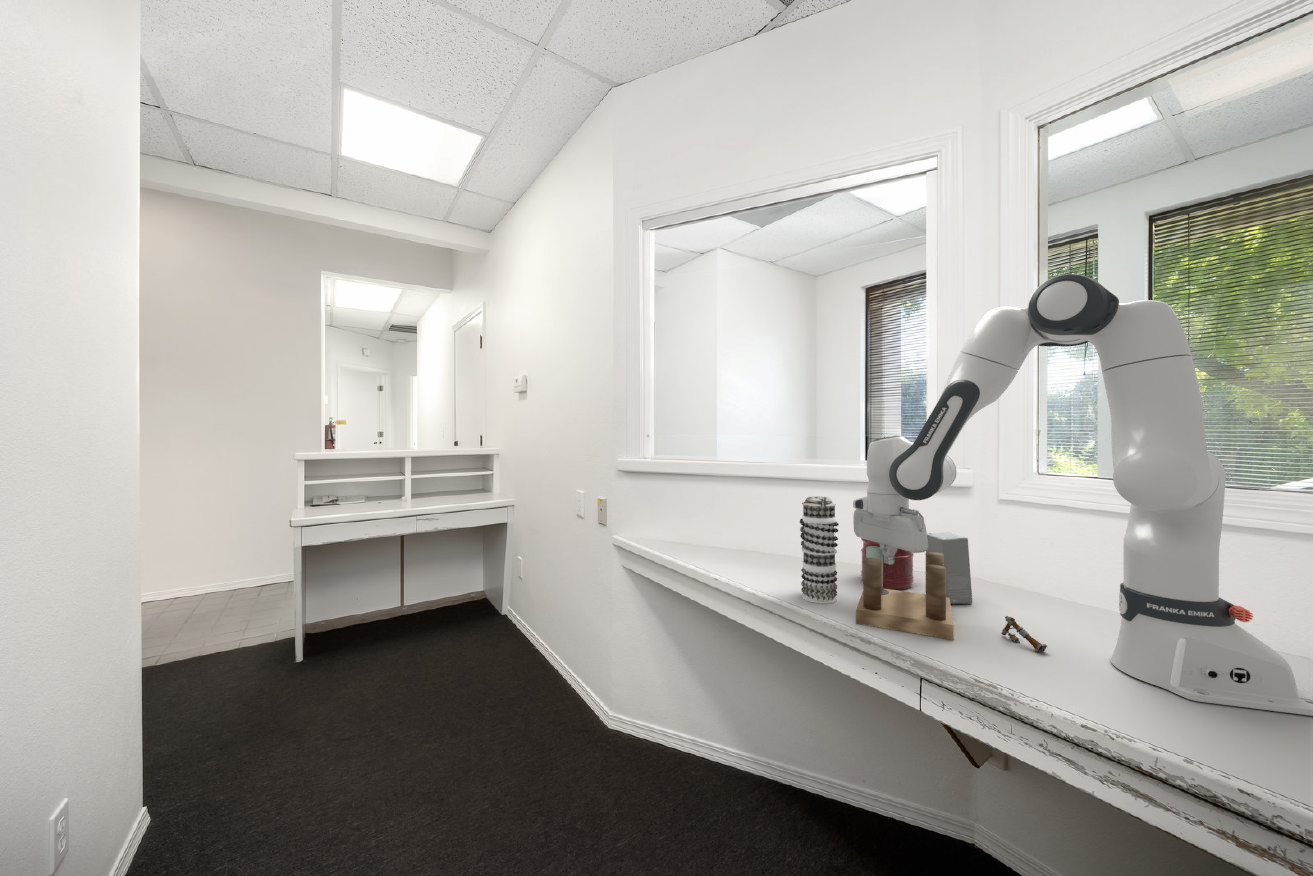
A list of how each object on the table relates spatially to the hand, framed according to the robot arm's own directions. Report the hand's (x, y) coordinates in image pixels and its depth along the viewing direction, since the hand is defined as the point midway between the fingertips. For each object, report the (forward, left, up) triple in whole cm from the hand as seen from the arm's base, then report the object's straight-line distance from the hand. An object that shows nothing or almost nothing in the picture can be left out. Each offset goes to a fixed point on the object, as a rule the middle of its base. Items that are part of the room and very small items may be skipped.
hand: (888, 563), depth 114 cm
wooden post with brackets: (-24, +10, -11) cm, 28 cm away
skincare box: (-12, -13, -11) cm, 21 cm away
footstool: (-3, +5, -10) cm, 12 cm away
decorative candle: (+16, +1, -10) cm, 19 cm away
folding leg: (+3, +2, -7) cm, 8 cm away
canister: (+2, -20, -11) cm, 22 cm away
